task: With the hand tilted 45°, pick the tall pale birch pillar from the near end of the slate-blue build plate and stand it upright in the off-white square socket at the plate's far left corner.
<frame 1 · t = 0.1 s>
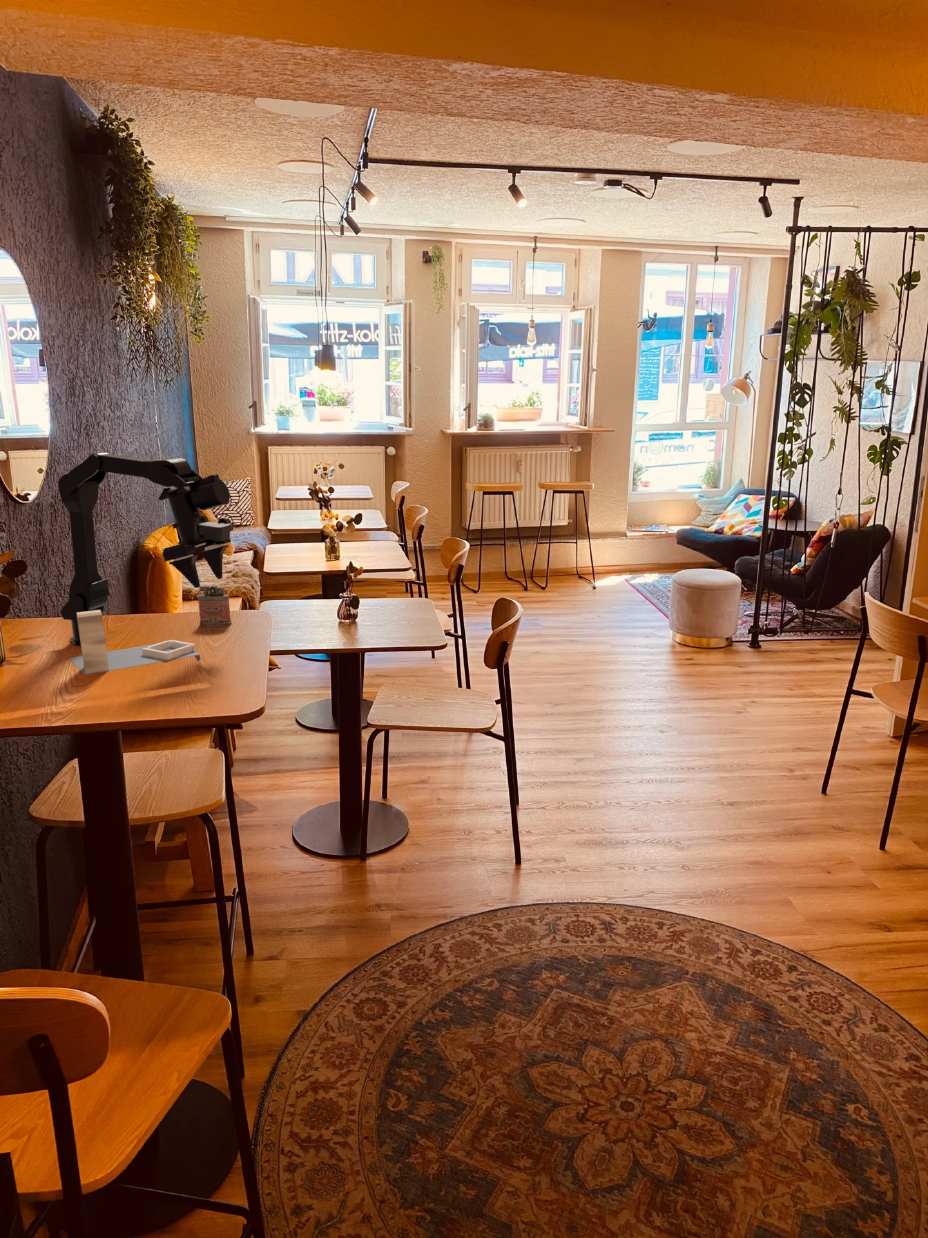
hand: (209, 583, 201), 15 cm above the table, tool pointing down, fingers open, 9 cm apart
birch pillar: (96, 669, 189), point 1 cm above the table, touching build plate
build plate: (135, 660, 198), on the table
lighter: (215, 625, 228), on the table
socket: (169, 657, 200), resting on build plate
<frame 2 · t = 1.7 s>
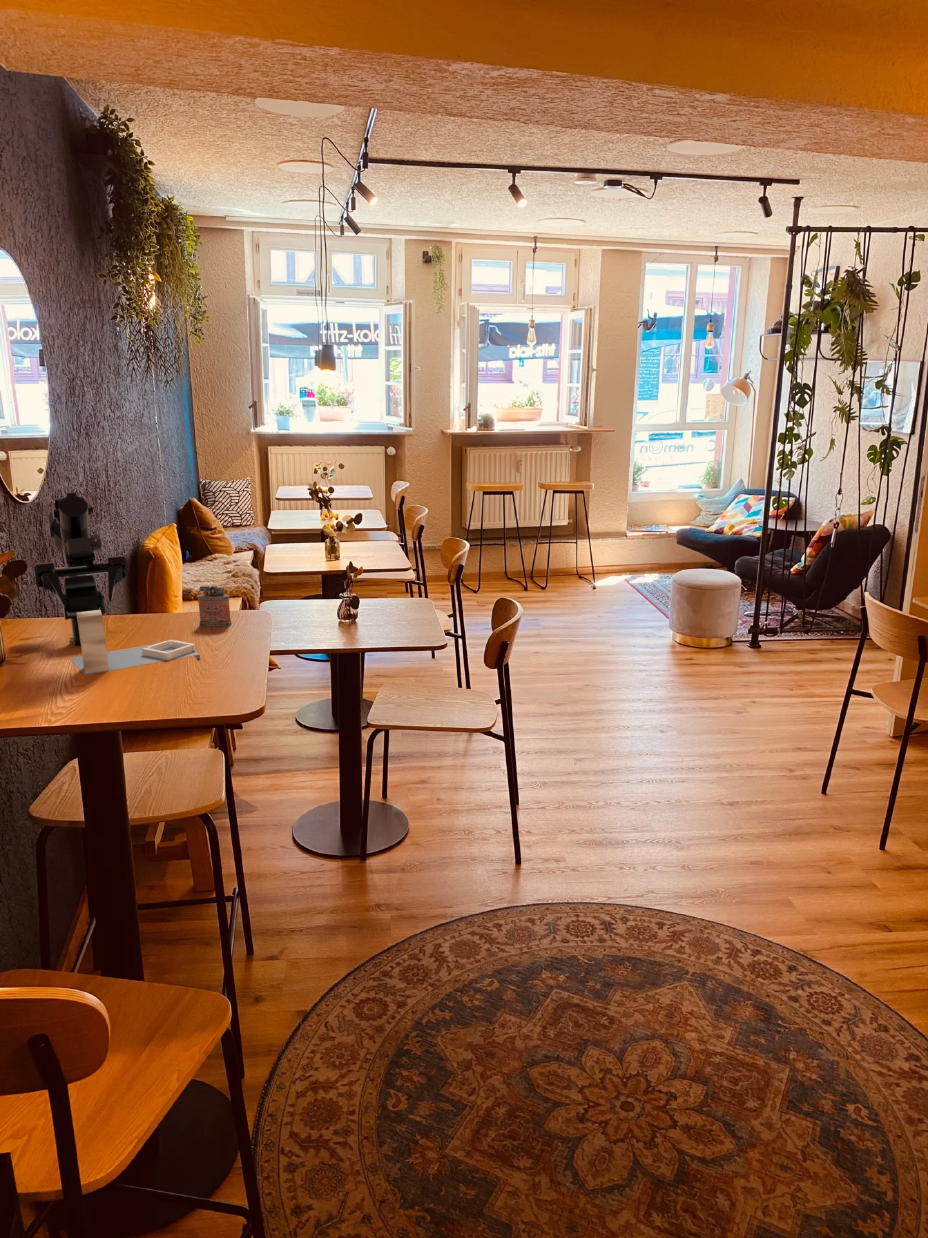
hand: (87, 603, 193), 13 cm above the table, tool tilted 45°, fingers open, 9 cm apart
nothing on the table moved.
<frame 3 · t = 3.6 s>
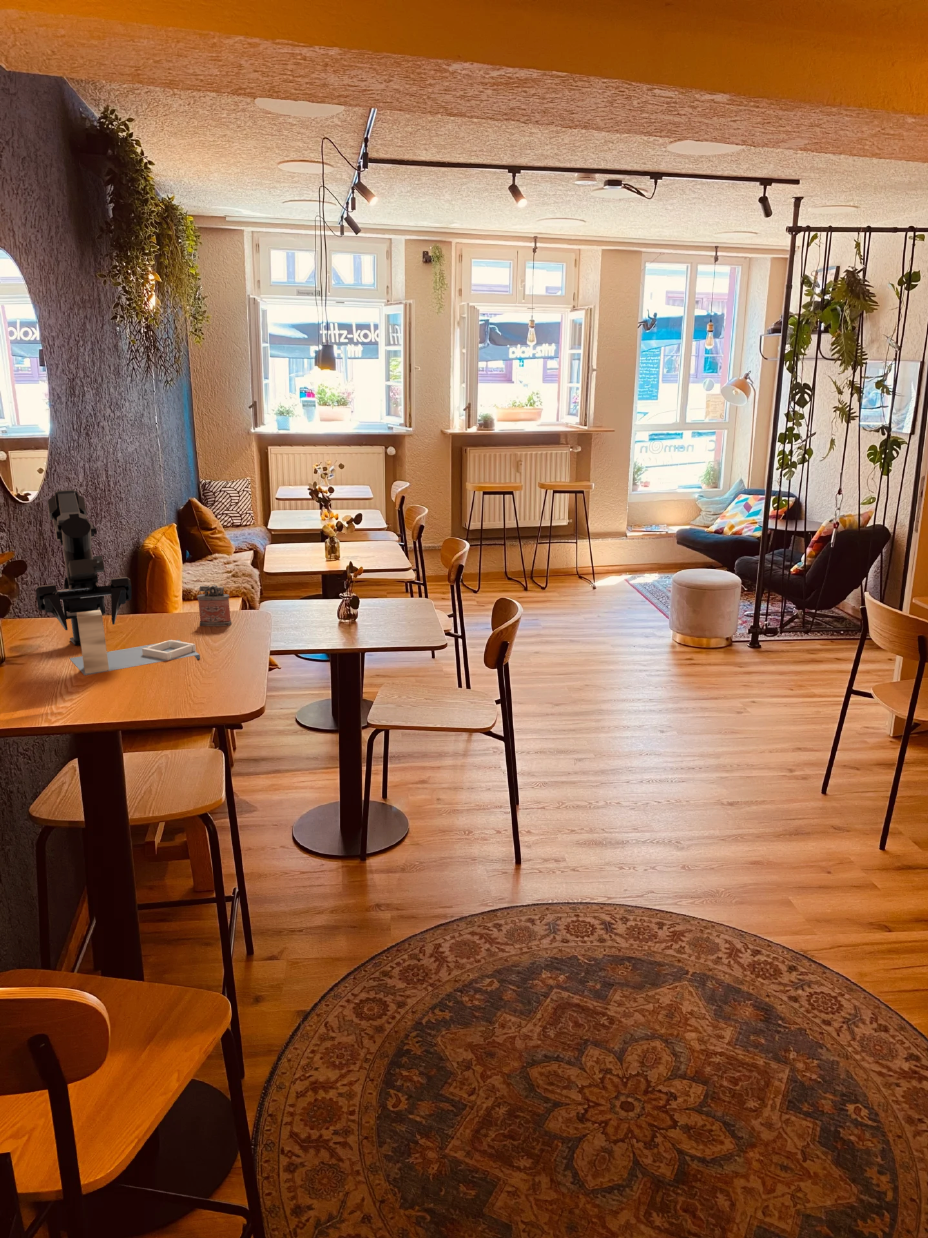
hand: (90, 626, 189), 10 cm above the table, tool tilted 45°, fingers open, 9 cm apart
nothing on the table moved.
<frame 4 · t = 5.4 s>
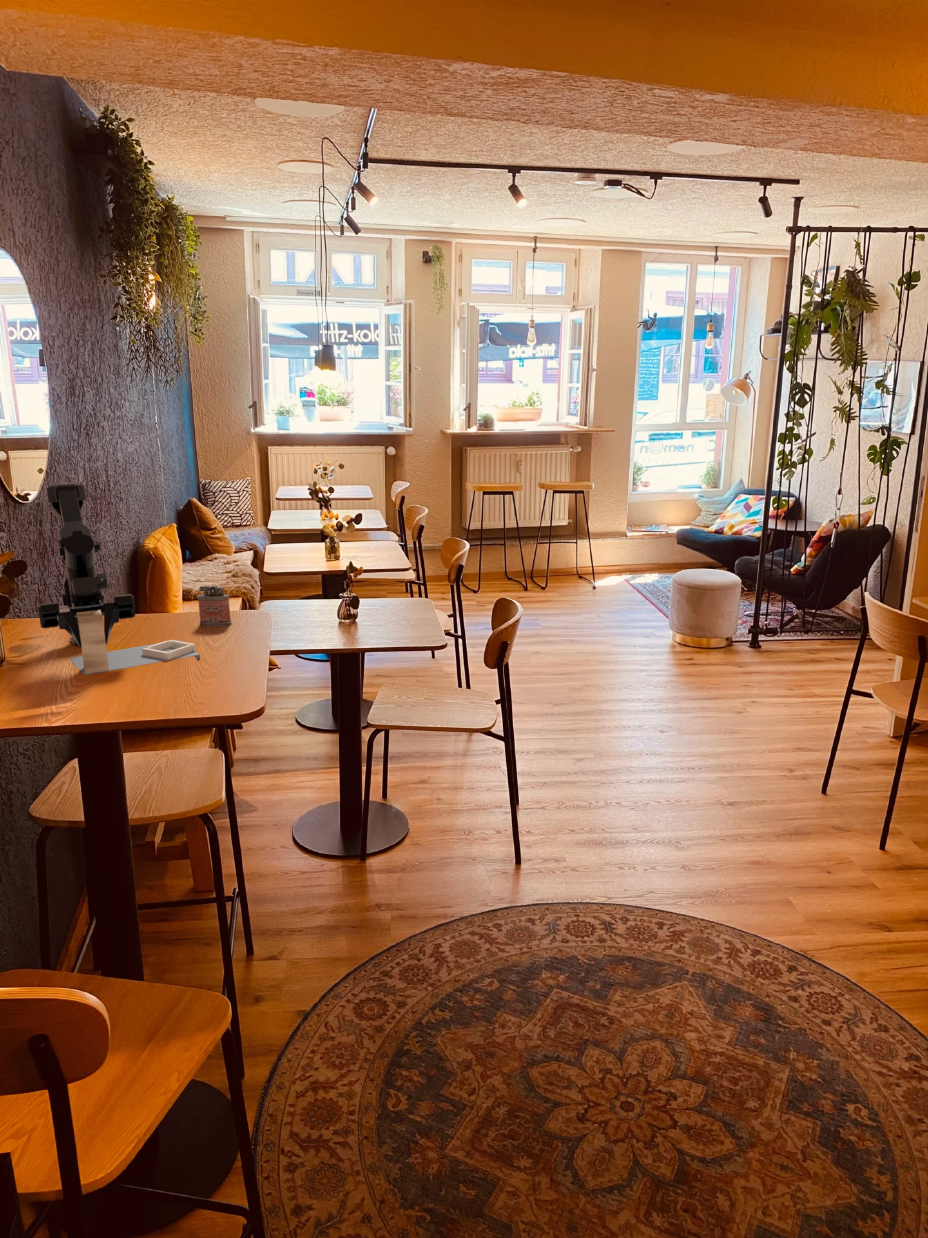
hand: (93, 645, 187), 7 cm above the table, tool tilted 45°, fingers closed on birch pillar, 5 cm apart
birch pillar: (96, 669, 189), point 1 cm above the table, touching build plate, gripper
everything else where it was.
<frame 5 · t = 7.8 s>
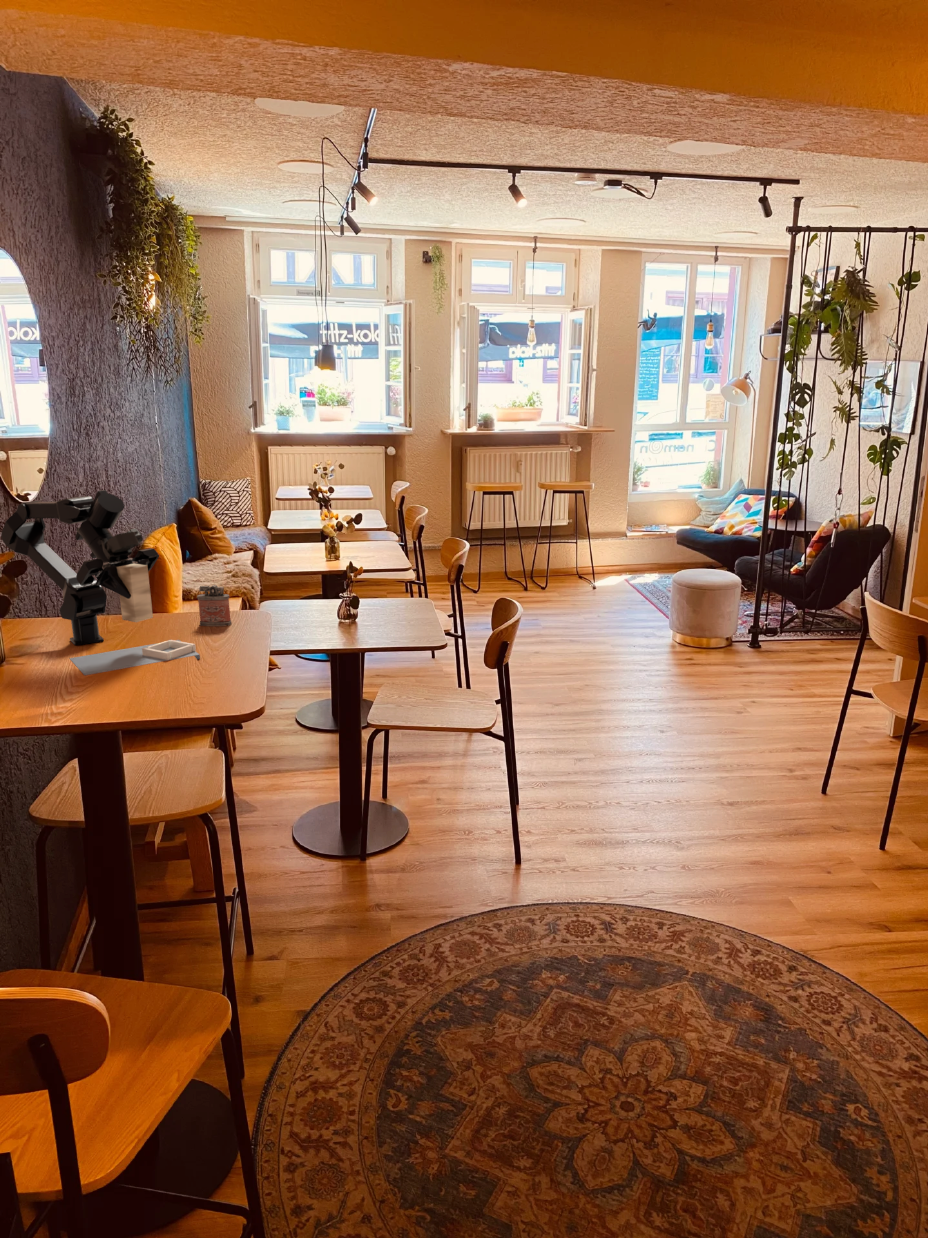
hand: (139, 595, 200), 13 cm above the table, tool tilted 45°, fingers closed on birch pillar, 5 cm apart
birch pillar: (137, 618, 203), point 8 cm above the table, touching gripper
everything else where it was.
when the fingers open (8 cm above the table, at t = 10.5 s): birch pillar drops 1 cm, resting on build plate.
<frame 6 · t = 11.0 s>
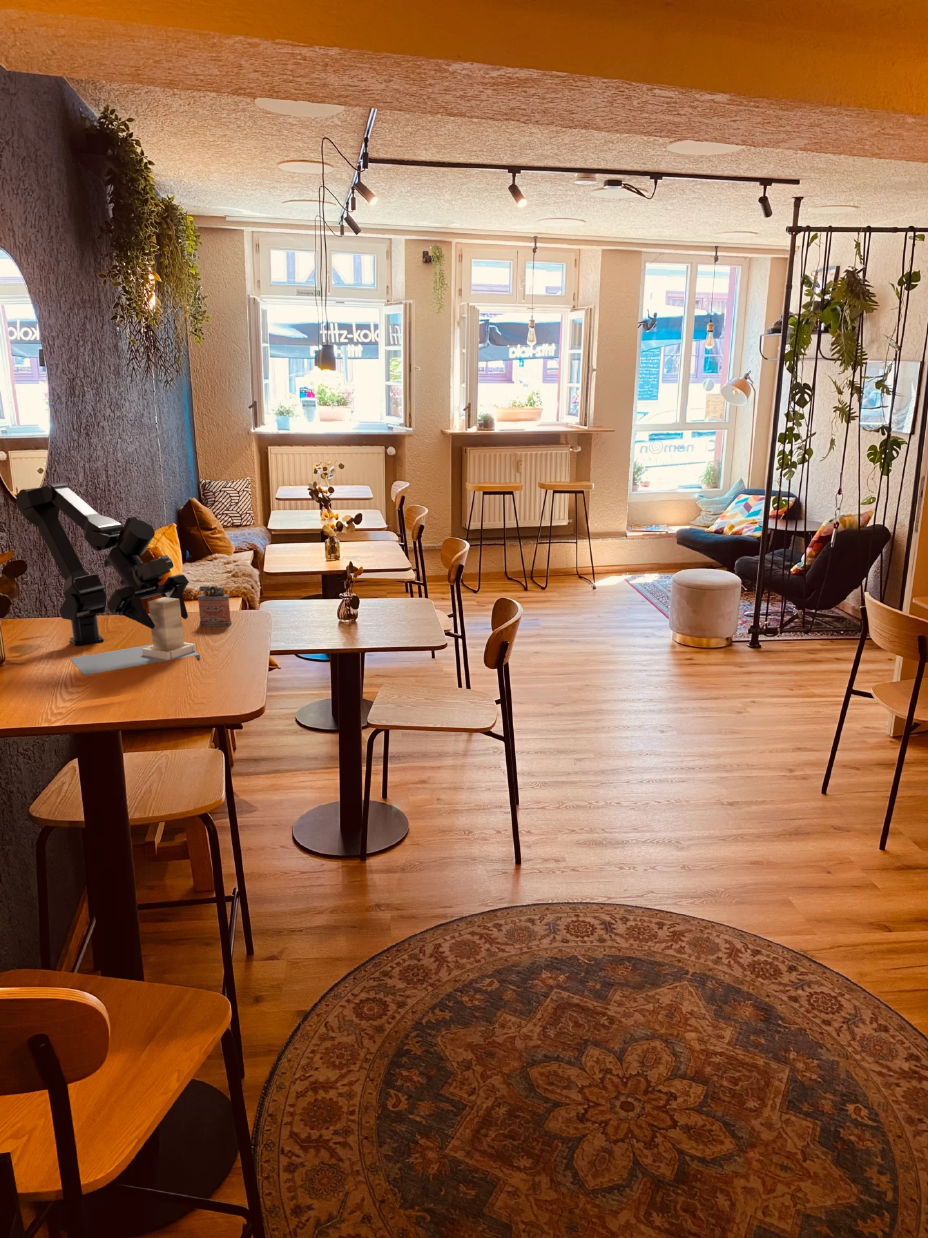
hand: (170, 622, 198), 8 cm above the table, tool tilted 45°, fingers open, 9 cm apart
birch pillar: (169, 652, 200), point 1 cm above the table, touching build plate
everything else where it was.
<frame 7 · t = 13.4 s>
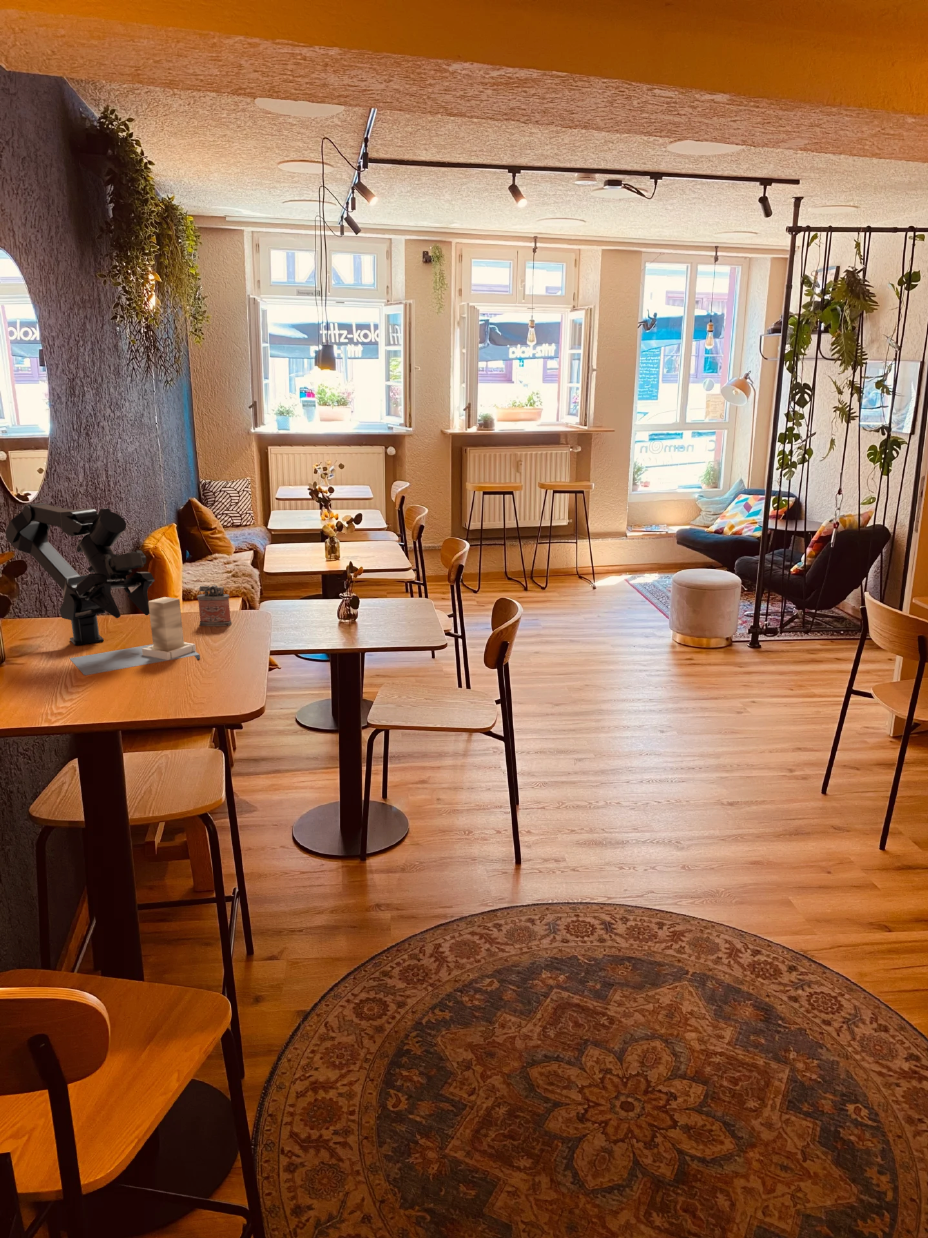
hand: (133, 615, 201), 9 cm above the table, tool tilted 40°, fingers open, 9 cm apart
nothing on the table moved.
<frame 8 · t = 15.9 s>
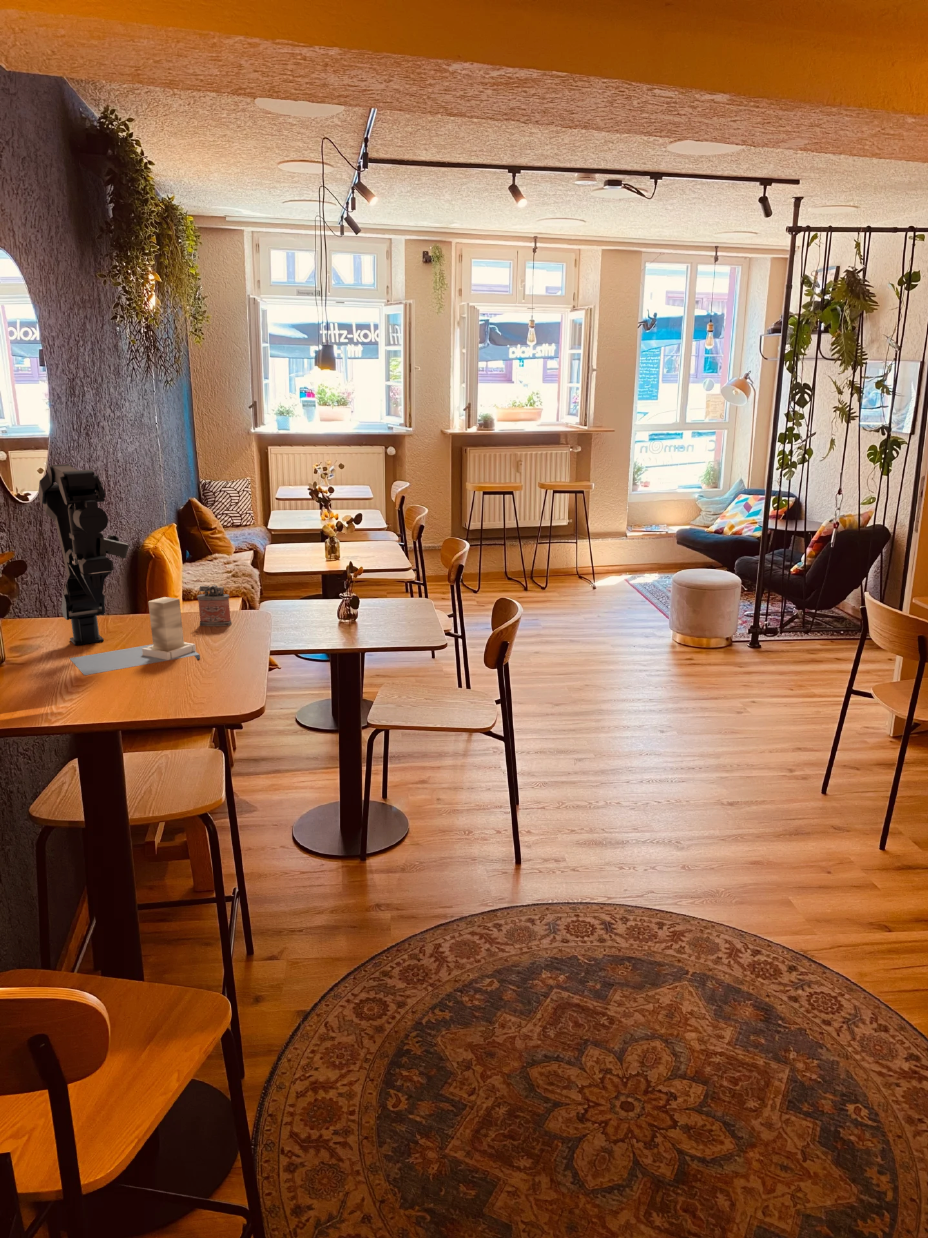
hand: (93, 598, 200), 13 cm above the table, tool pointing down, fingers open, 9 cm apart
nothing on the table moved.
at the end: birch pillar 0.0 cm off-centre on the socket, point 1.0 cm above the socket's base; birch pillar tilted 0°; the gripper is holding nothing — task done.
